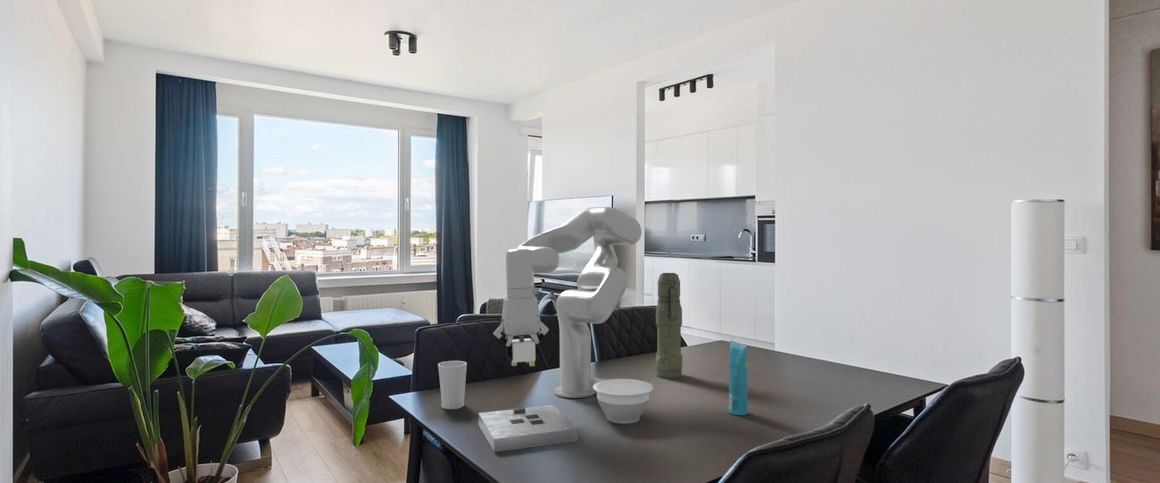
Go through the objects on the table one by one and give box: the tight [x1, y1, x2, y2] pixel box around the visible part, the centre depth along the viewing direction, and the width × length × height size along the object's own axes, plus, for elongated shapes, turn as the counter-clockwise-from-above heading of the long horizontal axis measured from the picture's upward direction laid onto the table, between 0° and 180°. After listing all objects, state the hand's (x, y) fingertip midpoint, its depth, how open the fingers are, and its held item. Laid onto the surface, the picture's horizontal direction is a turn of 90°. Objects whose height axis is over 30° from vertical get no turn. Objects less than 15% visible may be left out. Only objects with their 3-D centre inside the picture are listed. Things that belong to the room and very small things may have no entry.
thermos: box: [655, 272, 683, 380], centre depth 201 cm, size 9×12×35 cm
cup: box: [437, 360, 468, 410], centre depth 168 cm, size 8×8×12 cm
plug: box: [511, 335, 537, 367], centre depth 163 cm, size 6×6×8 cm
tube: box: [728, 339, 748, 416], centre depth 160 cm, size 7×5×19 cm, turn 26°
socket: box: [478, 404, 579, 453], centre depth 146 cm, size 20×20×4 cm
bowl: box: [593, 378, 654, 424], centre depth 157 cm, size 16×16×9 cm
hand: (522, 358), depth 163 cm, fingers closed on plug, 6 cm apart
